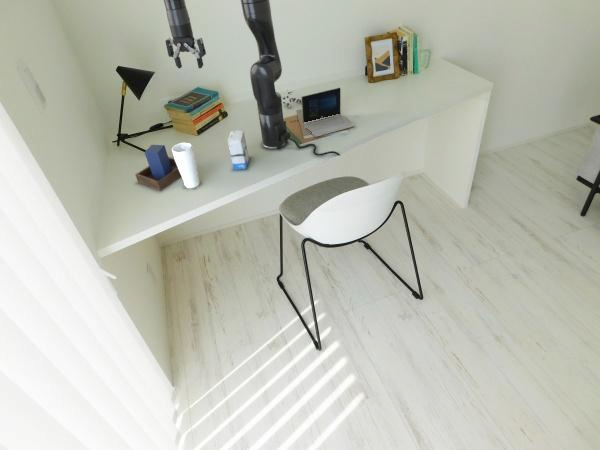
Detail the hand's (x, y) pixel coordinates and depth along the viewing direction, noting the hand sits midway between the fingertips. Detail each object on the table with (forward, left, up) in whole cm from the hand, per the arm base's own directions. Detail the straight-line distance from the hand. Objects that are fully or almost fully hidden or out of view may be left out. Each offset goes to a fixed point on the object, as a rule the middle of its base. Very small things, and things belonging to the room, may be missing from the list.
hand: (190, 67), depth 152 cm
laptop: (-45, -27, -28) cm, 60 cm away
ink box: (-29, +13, -28) cm, 43 cm away
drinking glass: (-22, +32, -28) cm, 48 cm away
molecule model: (-19, -40, -28) cm, 53 cm away
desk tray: (-8, +32, -28) cm, 44 cm away
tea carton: (-8, +32, -28) cm, 43 cm away
